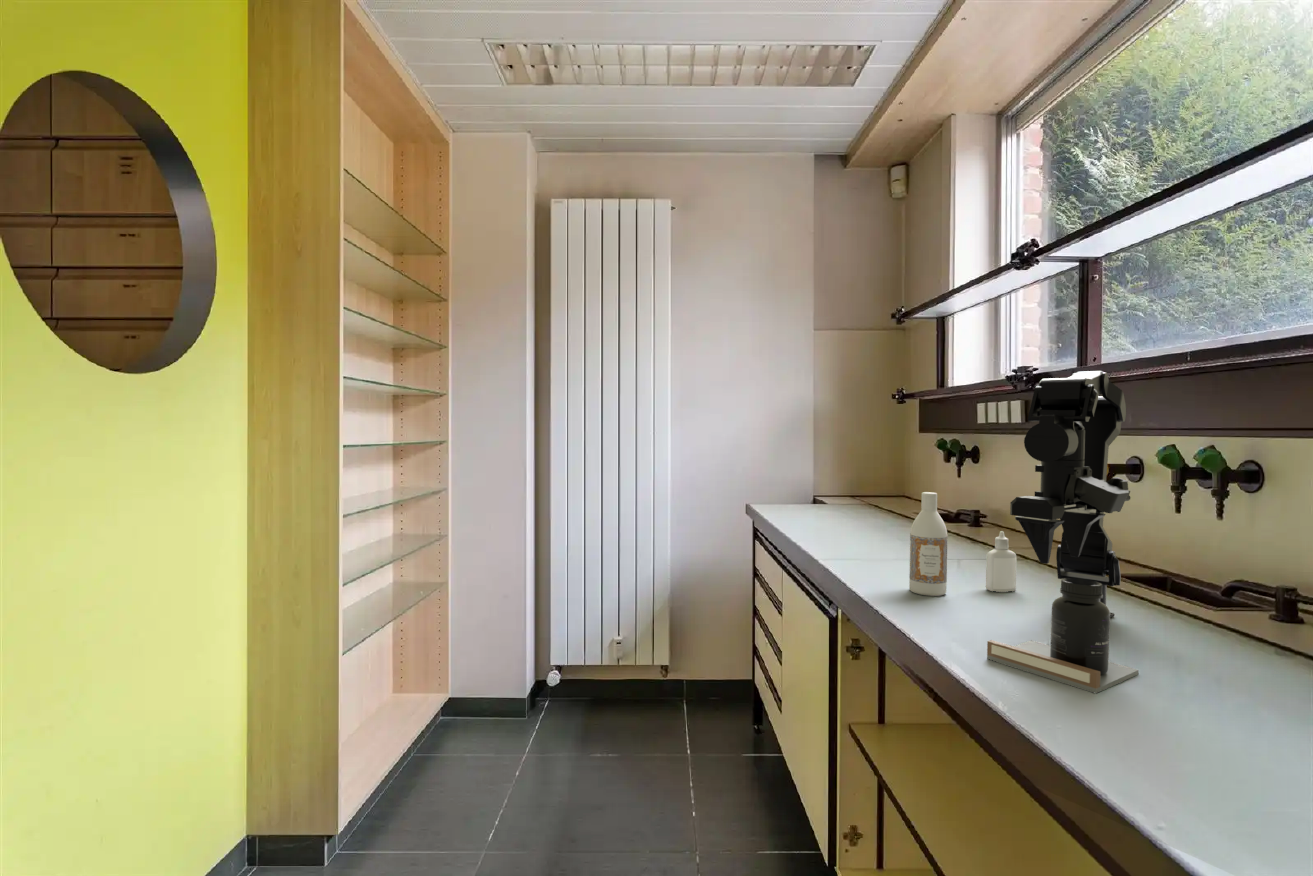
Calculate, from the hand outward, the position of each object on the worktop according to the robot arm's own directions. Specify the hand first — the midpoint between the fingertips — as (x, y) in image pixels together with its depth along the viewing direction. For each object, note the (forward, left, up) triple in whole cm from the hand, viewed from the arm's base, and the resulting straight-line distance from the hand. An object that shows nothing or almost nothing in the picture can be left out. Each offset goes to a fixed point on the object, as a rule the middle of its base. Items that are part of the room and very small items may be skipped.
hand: (1059, 560), depth 105 cm
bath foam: (-10, -30, -13) cm, 34 cm away
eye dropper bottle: (-24, -23, -13) cm, 36 cm away
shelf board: (+10, +5, -13) cm, 17 cm away
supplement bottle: (+10, +8, -13) cm, 18 cm away
